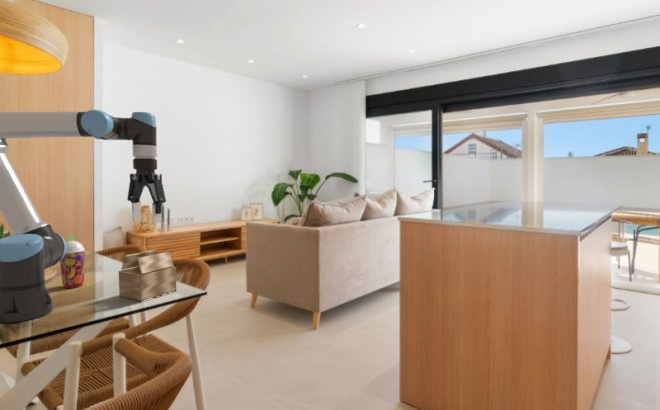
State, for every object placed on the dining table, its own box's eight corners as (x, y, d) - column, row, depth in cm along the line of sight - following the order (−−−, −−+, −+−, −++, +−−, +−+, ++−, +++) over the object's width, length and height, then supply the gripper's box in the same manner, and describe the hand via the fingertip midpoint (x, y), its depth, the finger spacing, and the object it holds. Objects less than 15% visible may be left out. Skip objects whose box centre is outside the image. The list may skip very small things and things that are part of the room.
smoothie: (63, 284, 150) (61, 232, 148) (88, 282, 153) (86, 231, 151) (57, 290, 142) (54, 235, 141) (83, 288, 145) (81, 234, 144)
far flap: (121, 269, 136) (125, 256, 134) (121, 269, 136) (124, 255, 134) (153, 262, 147) (157, 250, 145) (152, 262, 147) (156, 249, 145)
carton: (142, 302, 130) (141, 275, 130) (119, 296, 136) (118, 271, 135) (176, 291, 143) (175, 267, 142) (154, 286, 148) (153, 263, 148)
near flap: (142, 273, 130) (137, 257, 131) (141, 273, 131) (136, 258, 131) (173, 265, 142) (169, 251, 142) (173, 266, 142) (168, 251, 142)
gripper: (176, 158, 134) (177, 223, 135) (134, 158, 144) (135, 219, 146) (157, 157, 127) (159, 225, 129) (114, 157, 138) (116, 221, 139)
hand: (146, 222), depth 137 cm, fingers open, 10 cm apart
